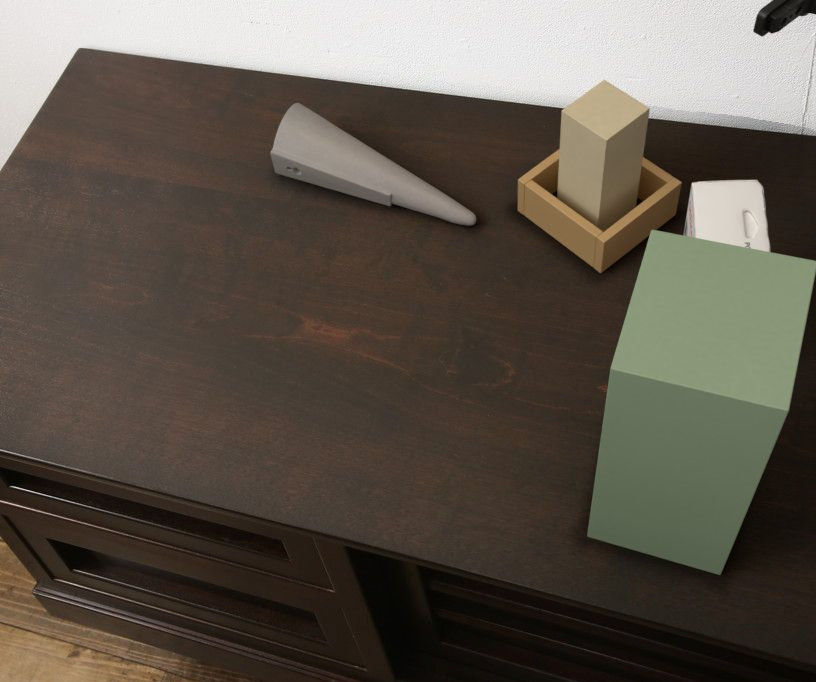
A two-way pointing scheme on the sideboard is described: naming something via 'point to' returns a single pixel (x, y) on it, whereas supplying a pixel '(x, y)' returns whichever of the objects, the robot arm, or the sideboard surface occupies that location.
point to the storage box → (584, 236)
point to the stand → (697, 396)
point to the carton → (602, 154)
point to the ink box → (728, 213)
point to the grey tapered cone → (354, 167)
